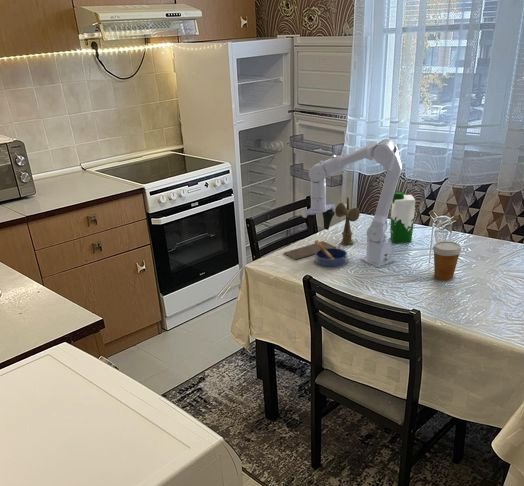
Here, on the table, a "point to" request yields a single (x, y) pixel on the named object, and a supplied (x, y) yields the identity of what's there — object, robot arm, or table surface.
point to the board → (306, 251)
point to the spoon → (323, 249)
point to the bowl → (338, 260)
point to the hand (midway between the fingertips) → (318, 231)
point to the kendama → (347, 220)
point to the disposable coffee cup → (445, 259)
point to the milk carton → (402, 217)
